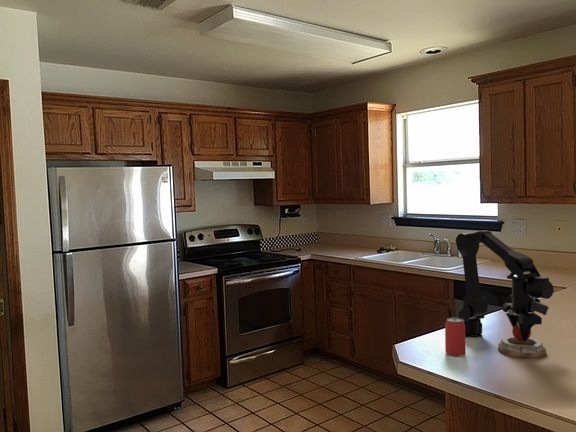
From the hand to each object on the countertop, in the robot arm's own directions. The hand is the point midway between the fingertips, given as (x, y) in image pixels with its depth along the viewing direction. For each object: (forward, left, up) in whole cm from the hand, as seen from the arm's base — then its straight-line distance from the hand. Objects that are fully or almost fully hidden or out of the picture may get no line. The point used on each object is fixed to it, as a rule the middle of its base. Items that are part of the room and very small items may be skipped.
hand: (521, 337), depth 169 cm
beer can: (-23, -2, -5) cm, 24 cm away
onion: (0, 0, -2) cm, 2 cm away
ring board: (0, 0, -5) cm, 5 cm away
